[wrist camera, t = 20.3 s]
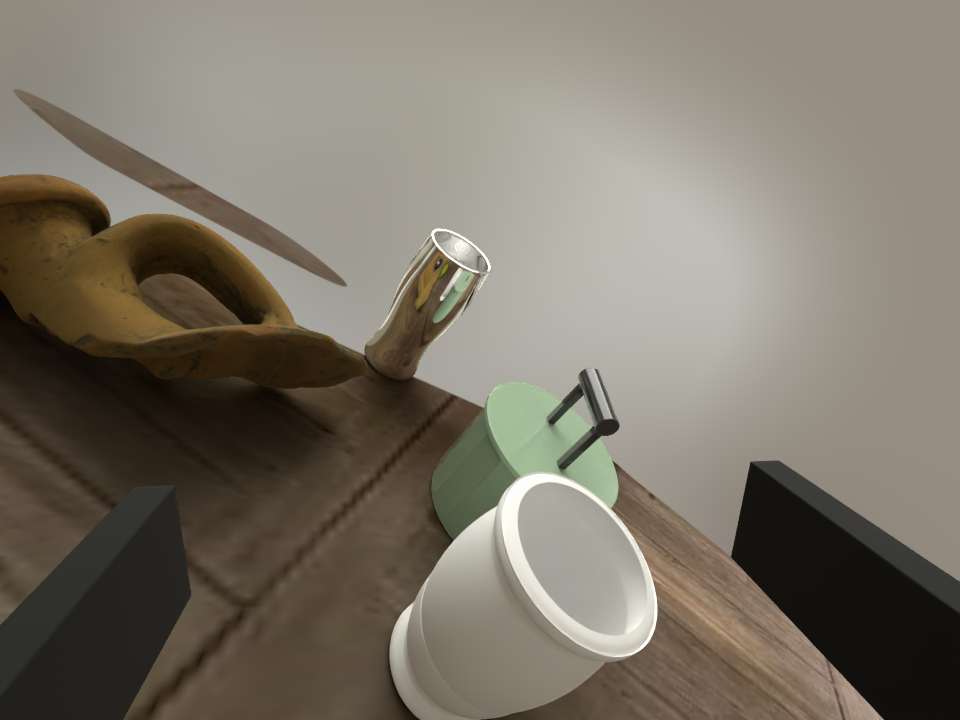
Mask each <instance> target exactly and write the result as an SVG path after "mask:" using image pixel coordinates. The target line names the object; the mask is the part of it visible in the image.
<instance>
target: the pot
mask: <svg viewBox="0 0 960 720" xmlns="http://www.w3.org/2000/svg"><path fill="white" fill-rule="evenodd" d="M484 408H485V407H484ZM484 408H483V410H482V411H481V412H480V413H479V414H478V416H477V417H476V418H475V419H474V420H473V421H472V423H471V424H470V425H469V426H468V427H467V428H466V430H465V431H464V432H463V433H462V434H461V435H460V437H459V438H458V439H457V440H456V441H455V442H454V444H453V445H452V446H451V447H450V448H449V449H448V451H447V452H446V453H445V454H444V455H443V457H442V459H441V460H440V462H439V463H438V465H437V466H436V468H435V470H434V473H433V477H432V483H431V491H432V499H433V503H434V507H435V510H436V512H437V515H438V517H439V519H440V521H441V523H442V525H443V527H444V528H445V530H446V531H447V533H448V534H449V536H450V537H451V538H452V539H453V540H455V539H456V538H457V537H458V536H459V535H460V534H461V533H462V532H463V531H464V530H465V529H466V528H467V527H468V526H470V525H471V524H472V523H473V522H474V521H476V520H477V519H478V518H480V517H481V516H482V515H484V514H485V513H487V512H488V511H490V510H491V509H493V508H495V507H496V506H498V503H499V501H500V499H501V497H502V495H503V494H504V492H505V491H506V490H507V489H508V488H509V487H510V486H511V485H512V484H513V483H514V482H515V481H516V480H517V479H516V478H515V477H514V476H513V474H512V473H511V472H510V471H509V470H508V468H507V467H506V466H505V464H504V463H503V461H502V460H501V458H500V457H499V455H498V454H497V452H496V450H495V448H494V446H493V445H492V442H491V440H490V437H489V435H488V432H487V429H486V425H485V419H484Z"/></svg>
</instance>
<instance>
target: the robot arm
mask: <svg viewBox="0 0 960 720" xmlns="http://www.w3.org/2000/svg"><path fill="white" fill-rule="evenodd" d="M731 558H732V559H733V560H734V561H735V562H736V563H737V564H738V565H739V566H740V567H741V568H742V569H743V570H744V571H745V572H746V573H747V575H748V576H749V577H750V578H751V579H752V580H753V581H754V582H755V583H756V584H757V585H758V586H759V587H760V588H761V589H762V590H763V592H764V593H765V594H766V595H767V596H768V597H769V598H770V599H771V600H772V601H773V602H774V603H775V604H776V605H777V606H778V607H779V608H780V610H781V611H782V612H783V613H784V614H785V615H786V616H787V617H788V618H789V619H790V620H791V621H792V622H793V623H794V624H795V625H796V627H797V628H798V629H799V630H800V631H801V632H802V633H803V634H804V635H805V636H806V637H807V638H808V639H809V640H810V641H811V642H812V644H813V645H814V646H815V647H816V648H817V649H818V650H819V651H820V652H821V653H822V654H823V655H824V656H825V657H826V658H827V659H828V661H829V662H830V663H831V664H832V665H833V666H834V667H835V668H836V669H837V670H838V671H839V672H840V673H841V674H842V675H843V676H844V678H845V679H846V680H847V681H848V682H849V683H850V684H851V685H852V686H853V687H854V688H855V689H856V690H857V691H858V692H859V693H860V695H861V696H862V697H863V698H864V699H865V700H866V701H867V702H868V703H869V704H870V705H871V706H872V707H873V708H874V709H875V710H876V712H877V713H878V714H879V715H880V716H881V717H882V718H883V719H884V720H960V581H958V580H956V579H955V578H953V577H952V576H950V575H949V574H947V573H946V572H944V571H943V570H941V569H940V568H938V567H937V566H935V565H934V564H932V563H931V562H929V561H928V560H926V559H925V558H923V557H922V556H920V555H919V554H917V553H916V552H914V551H913V550H911V549H910V548H908V547H907V546H906V545H904V544H903V543H901V542H899V541H898V540H897V539H895V538H894V537H892V536H890V535H889V534H888V533H886V532H885V531H883V530H882V529H880V528H879V527H877V526H876V525H874V524H873V523H871V522H870V521H868V520H867V519H865V518H864V517H862V516H861V515H859V514H858V513H856V512H854V511H853V510H852V509H850V508H849V507H847V506H846V505H844V504H843V503H841V502H840V501H838V500H837V499H835V498H834V497H832V496H831V495H829V494H828V493H826V492H825V491H823V490H822V489H820V488H819V487H817V486H816V485H814V484H813V483H811V482H810V481H808V480H807V479H806V478H804V477H803V476H801V475H799V474H798V473H797V472H795V471H794V470H792V469H790V468H789V467H787V466H786V465H785V464H783V463H782V462H780V461H757V462H756V461H755V462H751V463H750V467H749V472H748V477H747V483H746V487H745V492H744V496H743V501H742V506H741V511H740V516H739V521H738V526H737V531H736V536H735V541H734V546H733V550H732V555H731ZM190 597H191V590H190V583H189V577H188V570H187V564H186V557H185V550H184V544H183V537H182V530H181V524H180V517H179V511H178V504H177V497H176V491H175V485H166V486H141V487H134V488H133V489H132V490H131V491H130V492H129V493H128V494H127V495H126V496H125V497H124V498H123V499H122V500H121V501H120V502H119V503H118V504H117V505H116V506H115V507H114V508H113V509H112V510H111V511H110V512H109V514H108V515H107V516H106V517H105V518H104V519H103V520H102V521H101V522H100V523H99V524H98V525H97V526H96V527H95V528H94V529H93V530H92V531H91V532H90V533H89V534H88V535H87V536H86V537H85V538H84V539H83V540H82V541H81V542H80V543H79V544H78V546H77V547H76V548H75V549H74V550H73V551H72V552H71V553H70V554H69V555H68V556H67V557H66V558H65V559H64V560H63V561H62V562H61V563H60V564H59V565H58V566H57V567H56V568H55V569H54V570H53V571H52V572H51V573H50V574H49V575H48V577H47V578H46V579H45V580H44V581H43V582H42V583H41V584H40V585H39V586H38V587H37V588H36V589H35V590H34V591H33V592H32V593H31V594H30V595H29V596H28V597H27V598H26V599H25V600H24V601H23V602H22V603H21V604H20V605H19V606H18V607H17V609H16V610H15V611H14V612H13V613H12V614H11V615H10V616H9V617H8V618H7V619H6V620H5V621H4V622H3V623H2V624H1V625H0V720H123V719H124V717H125V715H126V713H127V711H128V710H129V708H130V706H131V704H132V702H133V701H134V699H135V697H136V695H137V693H138V691H139V690H140V688H141V686H142V684H143V682H144V681H145V679H146V677H147V675H148V673H149V671H150V670H151V668H152V666H153V664H154V662H155V660H156V659H157V657H158V655H159V653H160V651H161V650H162V648H163V646H164V644H165V642H166V640H167V639H168V637H169V635H170V633H171V631H172V630H173V628H174V626H175V624H176V622H177V620H178V619H179V617H180V615H181V613H182V611H183V610H184V608H185V606H186V604H187V602H188V600H189V599H190Z"/></svg>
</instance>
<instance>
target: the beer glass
mask: <svg viewBox="0 0 960 720" xmlns="http://www.w3.org/2000/svg"><path fill="white" fill-rule="evenodd" d="M490 271H491V265H490V262H489V261H488V259H487V258H486V256H485V255H484V254H483V253H482V252H481V251H480V250H479V249H478V248H477V247H476V246H475V245H474V244H472V243H471V242H470V241H468V240H467V239H465V238H463V237H462V236H460V235H458V234H456V233H454V232H451V231H449V230H445V229H435V230H433V232H432V233H431V235H430V236H429V238H428V239H427V240H426V242H425V243H424V244H423V246H422V247H421V248H420V250H419V251H418V253H417V254H416V255H415V257H414V258H413V260H412V262H411V263H410V265H409V266H408V268H407V270H406V272H405V274H404V275H403V277H402V280H401V282H400V284H399V287H398V289H397V292H396V294H395V297H394V300H393V303H392V306H391V308H390V311H389V313H388V316H387V318H386V320H385V322H384V324H383V325H382V326H381V328H380V329H379V330H378V331H377V332H376V334H375V335H374V336H373V337H372V338H371V339H370V340H369V341H368V342H367V344H366V346H365V356H366V358H367V360H368V362H369V363H370V364H371V366H372V367H373V368H374V369H375V370H377V371H378V372H379V373H381V374H382V375H384V376H386V377H389V378H391V379H395V380H407V379H410V378H411V377H412V376H413V375H414V374H415V372H416V370H417V368H418V365H419V362H420V360H421V358H422V356H423V355H424V353H425V352H426V350H427V349H428V348H429V347H430V346H431V344H433V342H434V341H436V340H437V339H438V338H439V337H440V336H441V335H442V334H443V333H444V332H445V331H446V330H447V329H448V328H449V327H450V326H452V324H454V323H455V321H456V320H457V319H458V318H459V317H460V316H461V315H462V314H463V312H464V311H465V310H466V308H467V307H468V306H469V305H470V303H471V302H472V300H473V299H474V297H475V296H476V294H477V292H478V291H479V289H480V288H481V286H482V284H483V282H484V281H485V279H486V277H487V276H488V274H489V273H490Z"/></svg>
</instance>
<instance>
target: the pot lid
mask: <svg viewBox="0 0 960 720" xmlns="http://www.w3.org/2000/svg"><path fill="white" fill-rule="evenodd" d="M578 379H579V382H580V383H579V384H578V385H577V386H576V387H575V388H574V389H573V390H572V391H571V392H570V394H568V395H567V396H566V398H565V399H564V400H563V401H562V400H560V399H559V398H557V397H556V396H554V395H552V394H551V393H549V392H547V391H545V390H543V389H541V388H539V387H536V386H534V385H530V384H527V383H522V382H508V383H503V384H501V385H499V386H497V387H496V388H495V389H494V390H493V391H492V392H491V393H490V395H489V396H488V398H487V400H486V403H485V408H484V419H485V425H486V429H487V432H488V435H489V437H490V440H491V442H492V445H493V446H494V448H495V450H496V452H497V454H498V455H499V457H500V458H501V460H502V461H503V463H504V464H505V466H506V467H507V468H508V470H509V471H510V472H511V473H512V474H513V476H514V477H515V478H516V479H518V478H520V477H521V476H523V475H525V474H528V473H532V472H550V473H555V474H559V475H562V476H565V477H567V478H569V479H572V480H574V481H575V482H577V483H579V484H581V485H582V486H584V487H585V488H587V489H588V490H590V491H591V492H592V493H594V494H595V495H596V496H597V497H599V498H600V499H601V500H602V501H603V502H604V503H605V504H606V505H607V506H608V507H609V508H610V509H611V508H612V507H613V505H614V504H615V502H616V499H617V496H618V479H617V474H616V471H615V467H614V465H613V462H612V460H611V458H610V456H609V454H608V452H607V450H606V449H605V447H604V445H603V444H602V442H601V440H600V439H599V438H600V437H601V436H608V435H612V434H614V433H615V432H616V431H617V430H618V429H619V422H618V419H617V417H616V414H615V411H614V409H613V406H612V404H611V401H610V399H609V396H608V393H607V391H606V388H605V386H604V383H603V380H602V378H601V375H600V372H599V371H598V370H597V369H595V368H587V369H584V370H583V371H581V373H580V374H579V378H578ZM583 395H584V397H585V400H586V403H587V406H588V409H589V412H590V415H591V418H592V421H593V424H594V426H593V427H592V428H591V427H590V426H589V425H588V424H587V423H586V422H585V420H584V419H583V418H582V417H580V416H579V414H577V413H576V412H575V411H574V410H573V409H572V408H571V407H572V405H574V404H575V403H576V402H577V401H578V400H579V399H580V398H581V397H582V396H583Z"/></svg>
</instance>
